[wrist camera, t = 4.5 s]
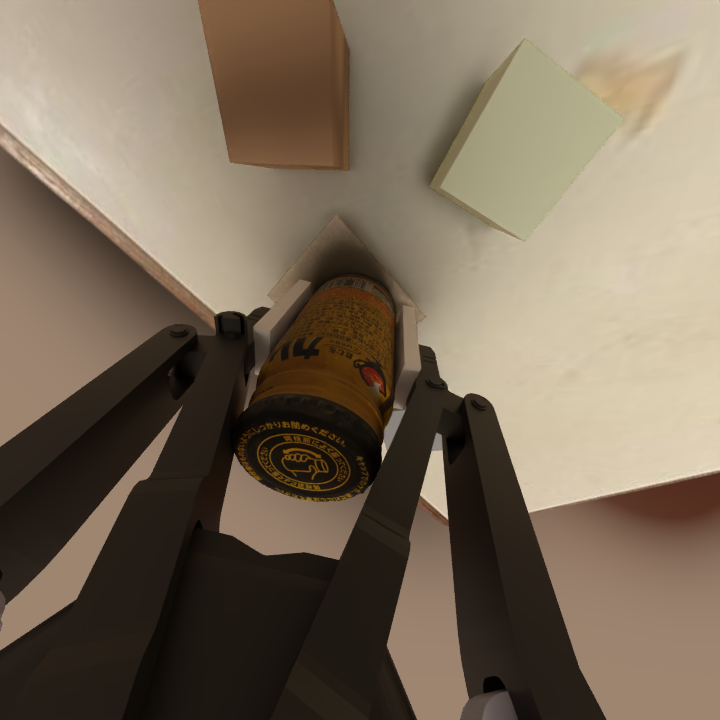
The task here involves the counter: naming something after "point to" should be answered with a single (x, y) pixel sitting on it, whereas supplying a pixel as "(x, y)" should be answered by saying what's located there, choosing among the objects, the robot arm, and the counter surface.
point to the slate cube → (393, 426)
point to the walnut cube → (280, 81)
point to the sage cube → (524, 142)
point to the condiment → (327, 376)
